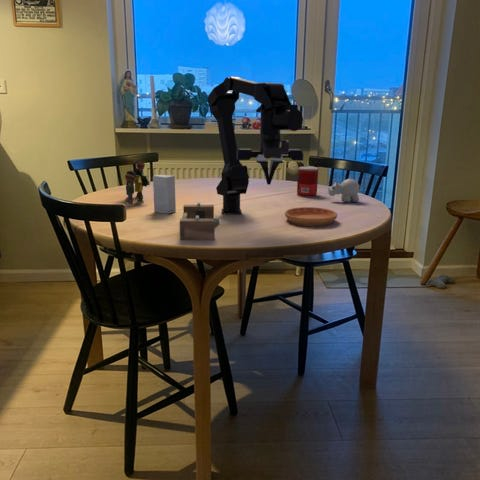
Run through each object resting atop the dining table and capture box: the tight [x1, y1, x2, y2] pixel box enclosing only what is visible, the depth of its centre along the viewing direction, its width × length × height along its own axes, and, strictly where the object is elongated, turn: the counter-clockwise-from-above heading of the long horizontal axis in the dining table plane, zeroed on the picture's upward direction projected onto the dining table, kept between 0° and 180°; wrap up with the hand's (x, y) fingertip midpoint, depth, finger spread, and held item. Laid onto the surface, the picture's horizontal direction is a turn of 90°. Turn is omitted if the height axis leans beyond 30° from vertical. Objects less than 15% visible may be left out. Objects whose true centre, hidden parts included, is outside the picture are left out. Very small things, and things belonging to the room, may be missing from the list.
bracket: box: [206, 217, 220, 228], centre depth 132 cm, size 4×10×2 cm, turn 168°
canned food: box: [296, 166, 319, 197], centre depth 182 cm, size 8×8×11 cm
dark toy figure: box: [124, 161, 151, 207], centre depth 166 cm, size 23×9×13 cm, turn 18°
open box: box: [179, 201, 216, 241], centre depth 128 cm, size 21×9×6 cm, turn 4°
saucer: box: [284, 206, 338, 227], centre depth 141 cm, size 16×16×3 cm
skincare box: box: [152, 174, 177, 215], centre depth 149 cm, size 6×4×12 cm
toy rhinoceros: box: [327, 178, 360, 203], centre depth 171 cm, size 7×12×8 cm, turn 95°
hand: (268, 184), depth 133 cm, fingers closed
